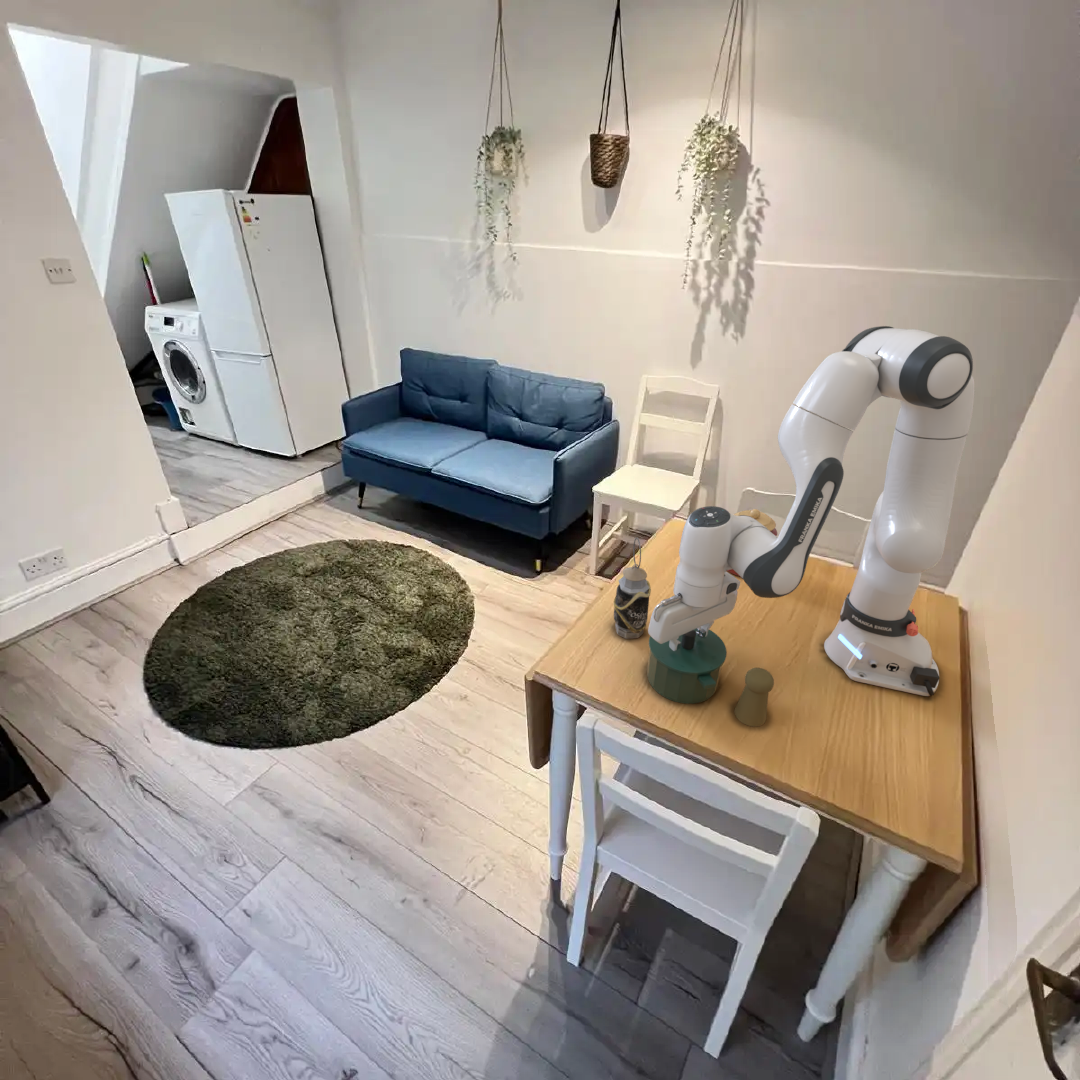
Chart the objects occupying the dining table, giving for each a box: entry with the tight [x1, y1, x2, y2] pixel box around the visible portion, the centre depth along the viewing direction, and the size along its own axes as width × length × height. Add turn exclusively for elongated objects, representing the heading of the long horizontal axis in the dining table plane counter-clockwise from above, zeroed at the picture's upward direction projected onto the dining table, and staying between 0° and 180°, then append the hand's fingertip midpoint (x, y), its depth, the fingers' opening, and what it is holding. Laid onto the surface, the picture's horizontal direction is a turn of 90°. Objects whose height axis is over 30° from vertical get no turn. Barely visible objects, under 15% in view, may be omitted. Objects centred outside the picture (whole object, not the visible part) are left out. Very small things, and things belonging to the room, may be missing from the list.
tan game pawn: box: [734, 667, 775, 728], centre depth 111 cm, size 6×6×11 cm
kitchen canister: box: [726, 508, 778, 577], centre depth 156 cm, size 13×13×18 cm
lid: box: [648, 628, 728, 675], centre depth 118 cm, size 16×16×5 cm
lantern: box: [613, 537, 652, 640], centre depth 130 cm, size 9×8×25 cm
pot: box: [646, 650, 723, 705], centre depth 121 cm, size 15×20×8 cm
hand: (688, 641), depth 118 cm, fingers open, 6 cm apart
